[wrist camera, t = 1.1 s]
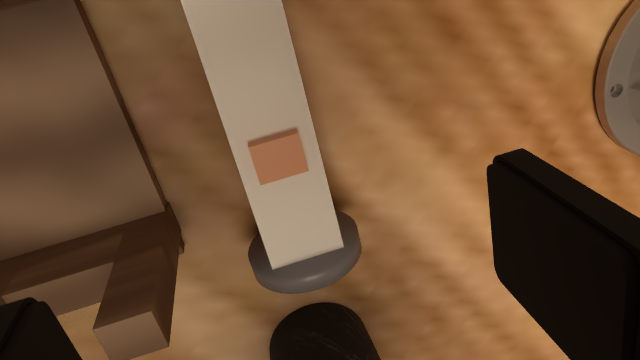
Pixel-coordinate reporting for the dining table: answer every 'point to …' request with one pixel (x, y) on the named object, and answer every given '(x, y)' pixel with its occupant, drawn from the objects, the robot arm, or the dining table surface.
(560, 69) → the dining table surface
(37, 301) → the robot arm
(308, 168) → the white bar grey caps
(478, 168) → the dining table surface
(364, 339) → the travel mug
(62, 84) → the walnut rack
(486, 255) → the dining table surface
